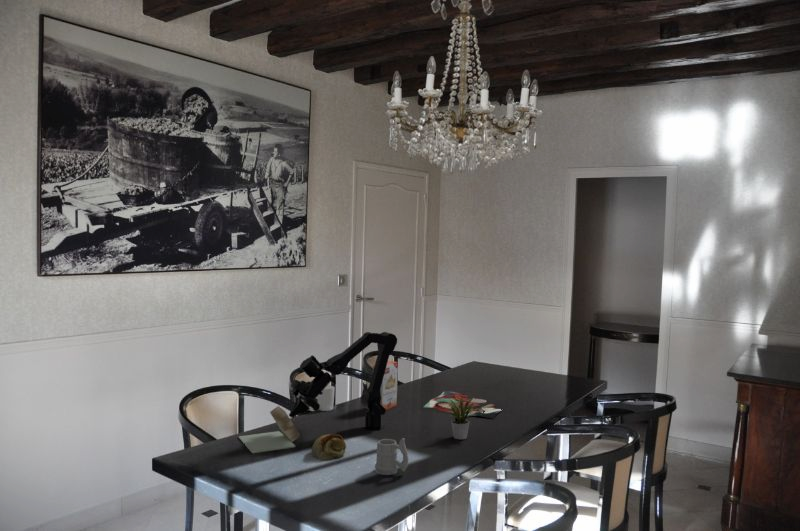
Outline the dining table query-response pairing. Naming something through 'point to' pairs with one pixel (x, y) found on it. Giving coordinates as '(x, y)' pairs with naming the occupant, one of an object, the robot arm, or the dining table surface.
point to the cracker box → (389, 385)
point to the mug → (390, 456)
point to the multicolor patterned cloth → (444, 407)
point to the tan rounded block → (285, 424)
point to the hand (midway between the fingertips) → (289, 416)
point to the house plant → (460, 419)
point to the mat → (266, 442)
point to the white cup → (326, 398)
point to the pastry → (329, 447)
